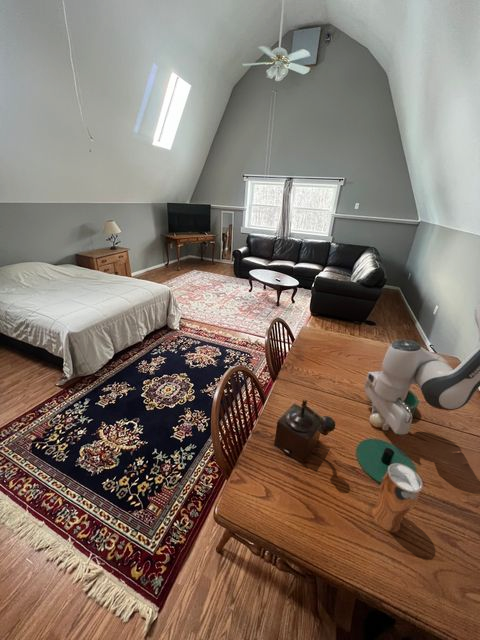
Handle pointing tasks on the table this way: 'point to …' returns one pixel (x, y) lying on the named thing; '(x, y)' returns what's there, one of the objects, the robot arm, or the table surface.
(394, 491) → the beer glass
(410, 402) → the basin
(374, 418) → the egg
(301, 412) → the manual coffee grinder
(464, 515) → the table surface
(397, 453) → the lid
